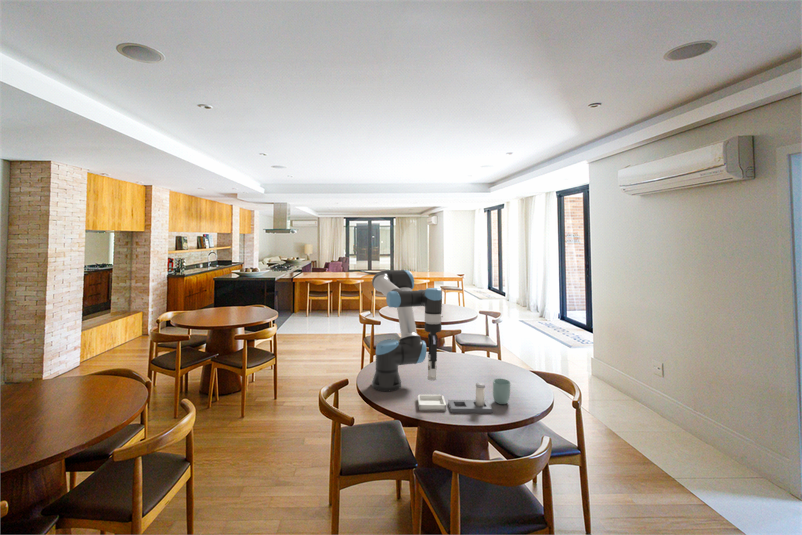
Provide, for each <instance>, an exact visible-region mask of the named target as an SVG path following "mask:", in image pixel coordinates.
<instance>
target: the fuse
mask: <svg viewBox="0 0 802 535" xmlns="http://www.w3.org/2000/svg"><path fill="white" fill-rule="evenodd" d="M485 388H486V384H485V383H484V382H476V383H475V400H476V405H475V406H476V407H484V400H485V390H486V389H485Z"/></svg>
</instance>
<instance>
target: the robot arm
mask: <svg viewBox="0 0 802 535" xmlns="http://www.w3.org/2000/svg"><path fill="white" fill-rule="evenodd" d="M371 279H372V280H371V285H372V287H373V288H374V289H375V291H377V292H379V293H381V294H383V296H384V297H385V298H386V304H387V306H388V307H389V308H395V309H396V311H397V317H398V323H399V329H400V336H401V337H399V339H394V338H393V339H391V338H390V339H384V340H380V341H379V342H378V343H376V347H375V372H374V374H373V377H372V381H371V387H372V388H373V389H374V390H376V391H381V392H394V391H397V390H400V389H401V387H402V379H401V376H400V373H399V366H405V365H416V364H422V363H424V361H425V359H426V358H427V357H426V356H427V355H428V354H430V360H429V361H430V375H432V376H436V377H437V369H436V365H437V364H436V361H437V360H438V359H437V358H438V353H437V352H438V339H439V338H438V337H439V335H438V334H437V333H440V332H442V323H441V322H442V318H443V317H444V315H443V314H442V312H443V311H442V307H443V306H442V305H443V304H442V302H443V293H442V289H441V288H437V287H428V288H425V289H418V290H413V289H414V287H415V278H414V276H413V273H412V271H410V270H409V269H408V270H407V269H396V270H395V269H394V270H393V269H391V270H389V269H383V270H380V271H378V272H377V273H376V274H375V275H373V278H371ZM414 307H417V308H418V307H424V331H425V332H427V333H428V335H427V338H428V341H427V342H428V352H427V343H426V341H425V340H422V339H421V335H419V334H418V333H417V332H418V331H417V326H416V321H415V315H414V309H413V308H414ZM427 353H428V354H427Z"/></svg>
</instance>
